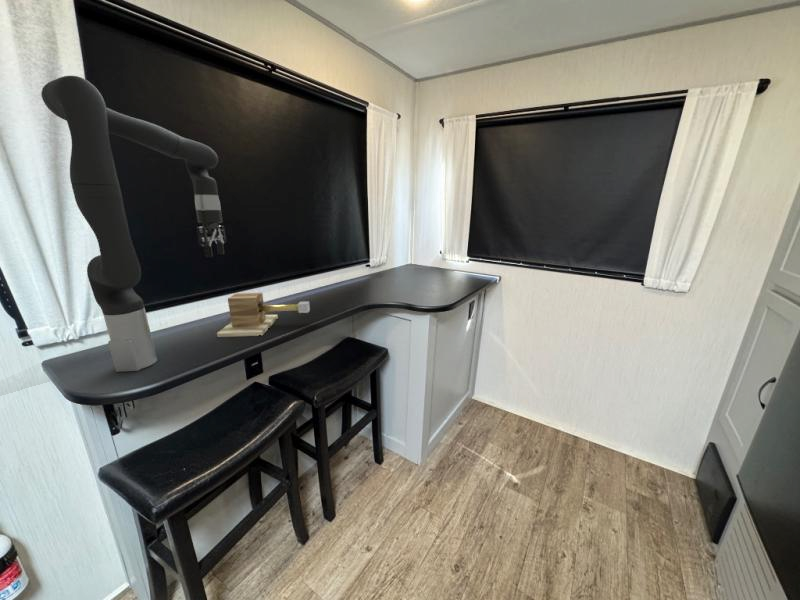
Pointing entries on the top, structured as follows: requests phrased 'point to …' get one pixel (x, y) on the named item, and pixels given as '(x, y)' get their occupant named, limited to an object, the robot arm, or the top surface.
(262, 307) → the bolt
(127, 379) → the top surface
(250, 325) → the block
